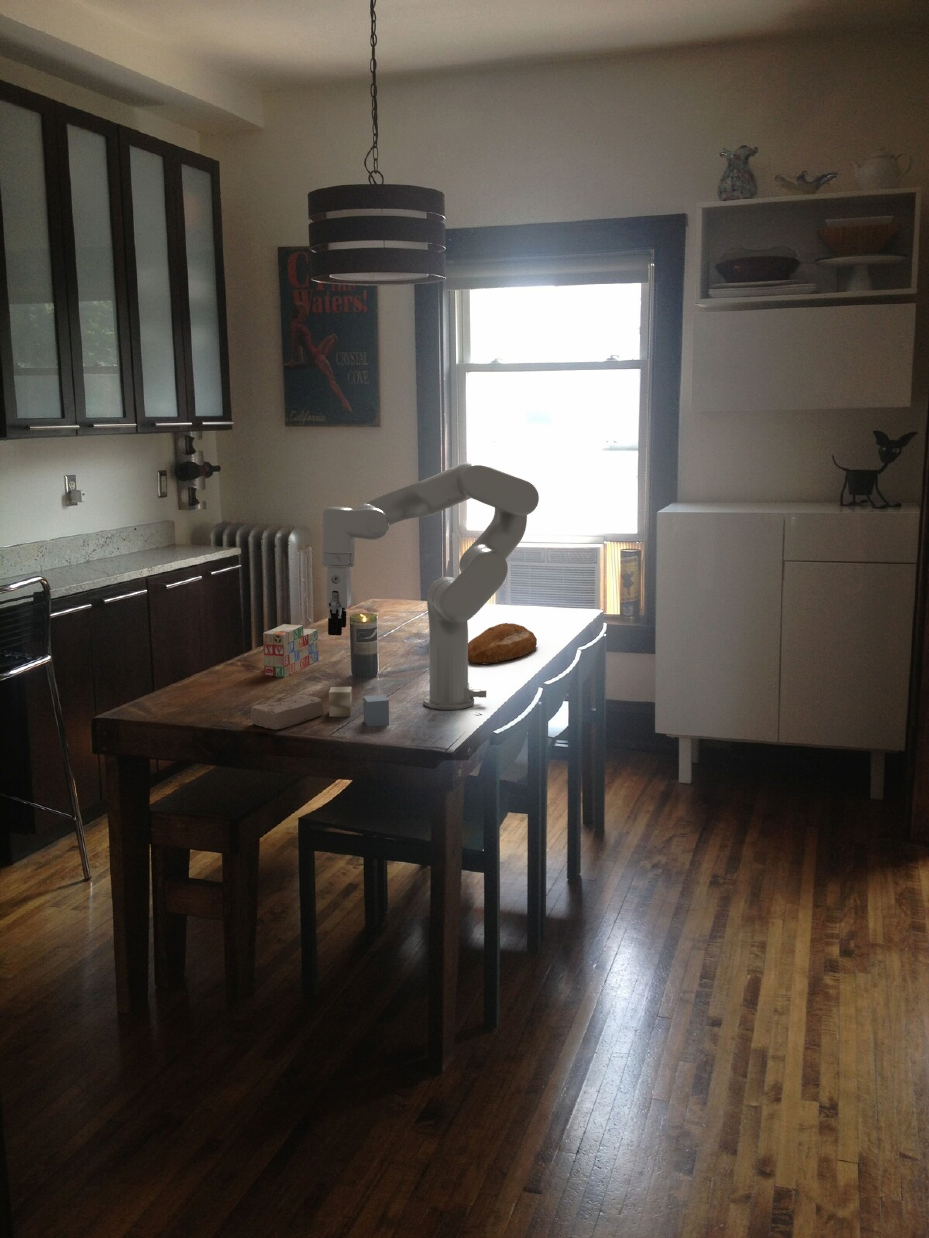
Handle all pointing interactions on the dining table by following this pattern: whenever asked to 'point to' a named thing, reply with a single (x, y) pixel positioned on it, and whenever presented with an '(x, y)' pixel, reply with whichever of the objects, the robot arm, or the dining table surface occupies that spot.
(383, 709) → the slate block
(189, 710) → the dining table surface
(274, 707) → the brick
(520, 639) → the bread
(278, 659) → the stack of blocks
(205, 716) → the dining table surface
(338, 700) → the beech block
